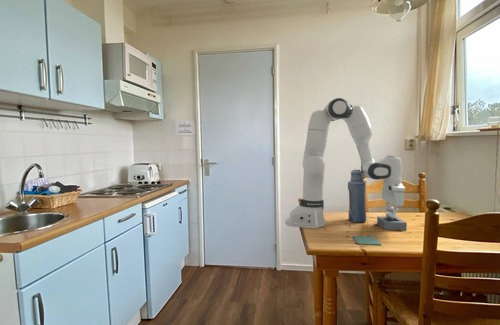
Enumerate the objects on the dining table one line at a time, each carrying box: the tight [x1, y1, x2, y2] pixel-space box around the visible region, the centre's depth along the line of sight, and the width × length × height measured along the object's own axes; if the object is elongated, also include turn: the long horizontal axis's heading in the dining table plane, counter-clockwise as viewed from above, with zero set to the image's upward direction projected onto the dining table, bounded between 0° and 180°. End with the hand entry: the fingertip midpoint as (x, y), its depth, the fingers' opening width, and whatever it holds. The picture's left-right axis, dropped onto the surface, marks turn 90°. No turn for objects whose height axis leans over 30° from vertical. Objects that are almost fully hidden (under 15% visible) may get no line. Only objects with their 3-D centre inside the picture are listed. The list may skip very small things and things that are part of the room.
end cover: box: [384, 205, 399, 221], centre depth 147 cm, size 6×6×7 cm
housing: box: [376, 216, 408, 231], centre depth 147 cm, size 11×11×4 cm
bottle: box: [347, 169, 367, 223], centre depth 158 cm, size 10×10×30 cm
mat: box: [352, 235, 382, 246], centre depth 126 cm, size 10×10×1 cm
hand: (391, 210), depth 147 cm, fingers closed on end cover, 6 cm apart
